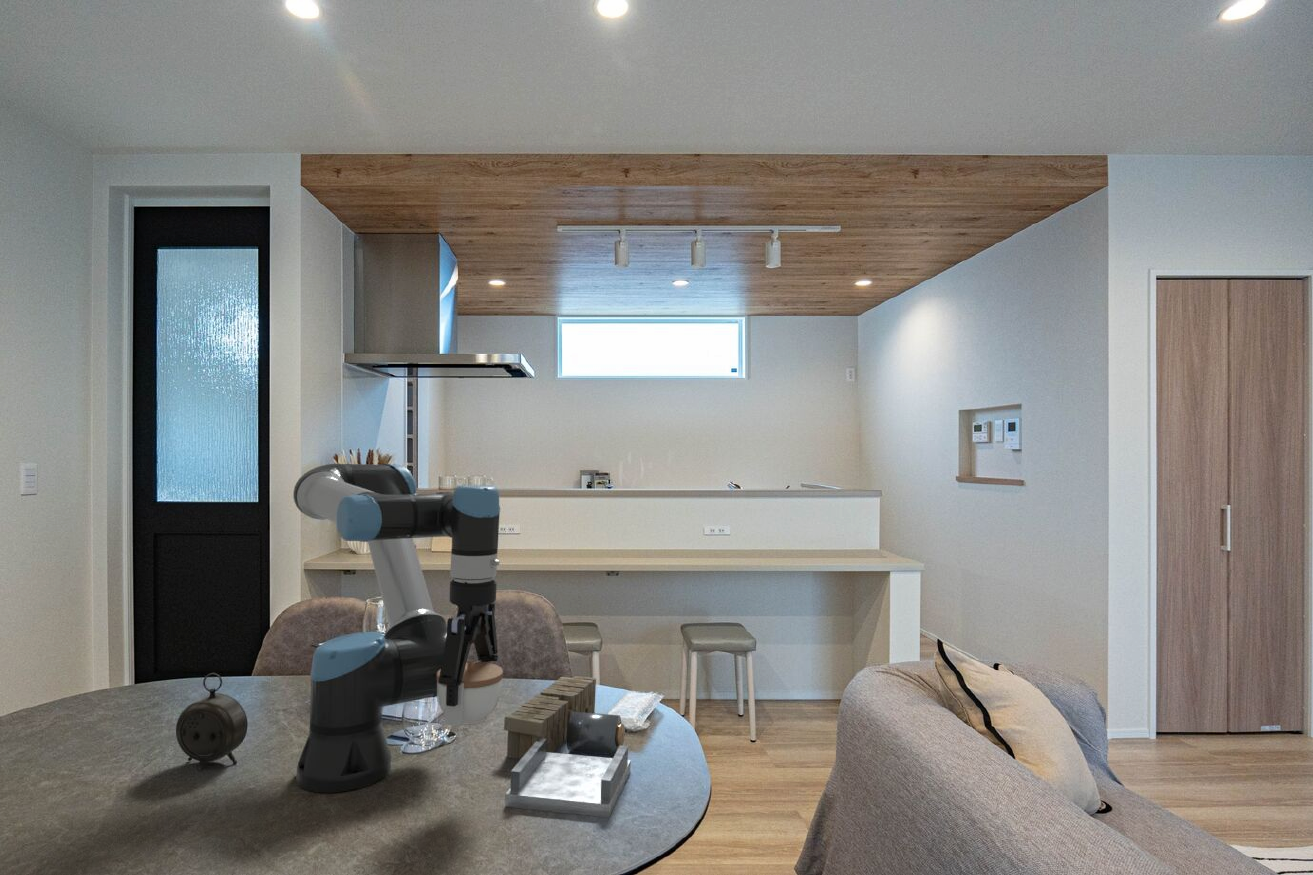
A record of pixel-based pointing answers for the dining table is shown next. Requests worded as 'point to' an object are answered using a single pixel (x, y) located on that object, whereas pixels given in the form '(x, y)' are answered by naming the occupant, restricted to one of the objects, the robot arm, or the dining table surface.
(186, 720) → the alarm clock
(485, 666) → the lidded jar
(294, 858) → the dining table surface
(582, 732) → the motor cradle
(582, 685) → the block tower
